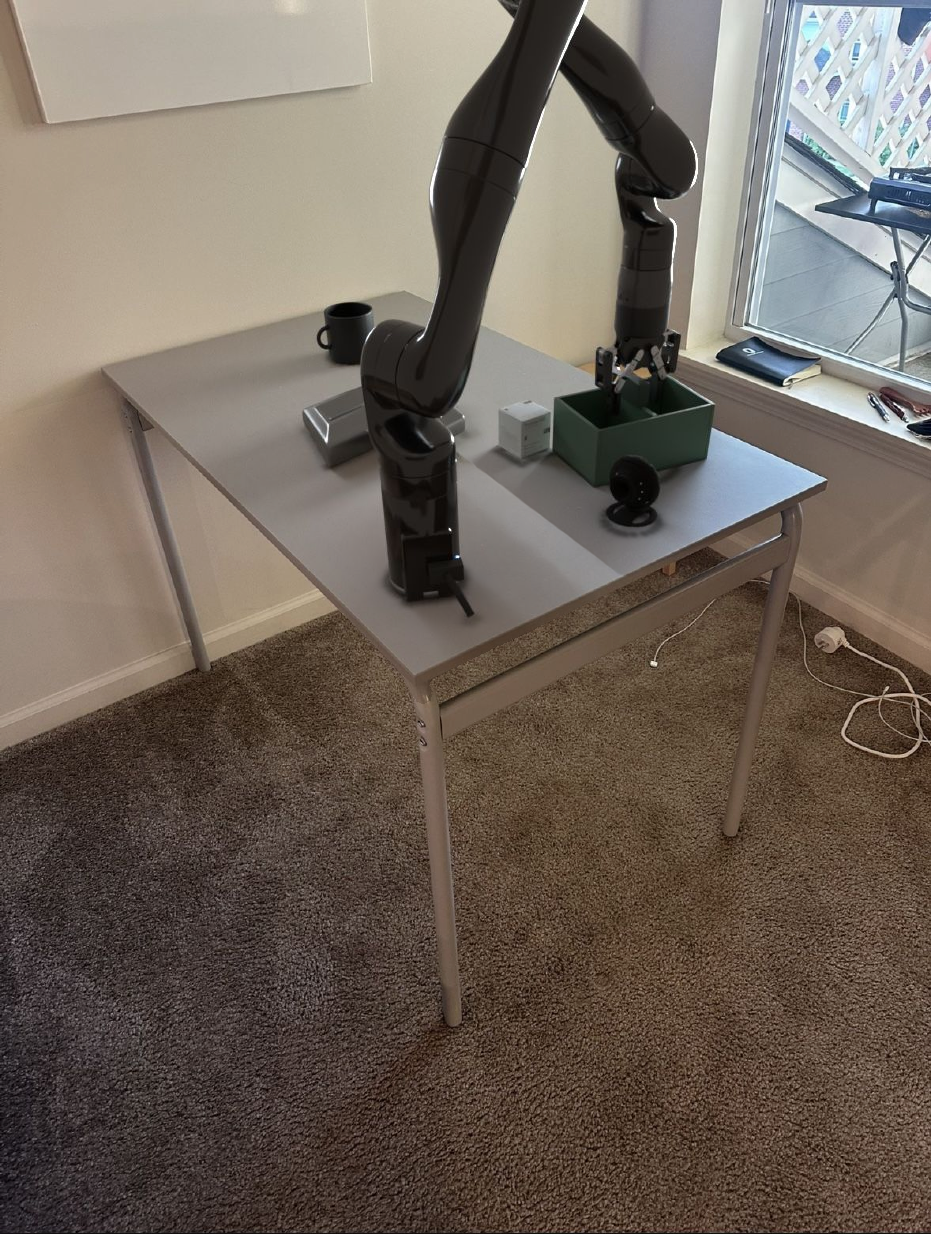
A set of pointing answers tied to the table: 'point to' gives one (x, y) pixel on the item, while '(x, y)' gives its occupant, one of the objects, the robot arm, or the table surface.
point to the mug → (346, 330)
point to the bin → (631, 428)
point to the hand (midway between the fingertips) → (633, 407)
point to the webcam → (633, 490)
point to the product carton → (524, 428)
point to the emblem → (352, 426)
